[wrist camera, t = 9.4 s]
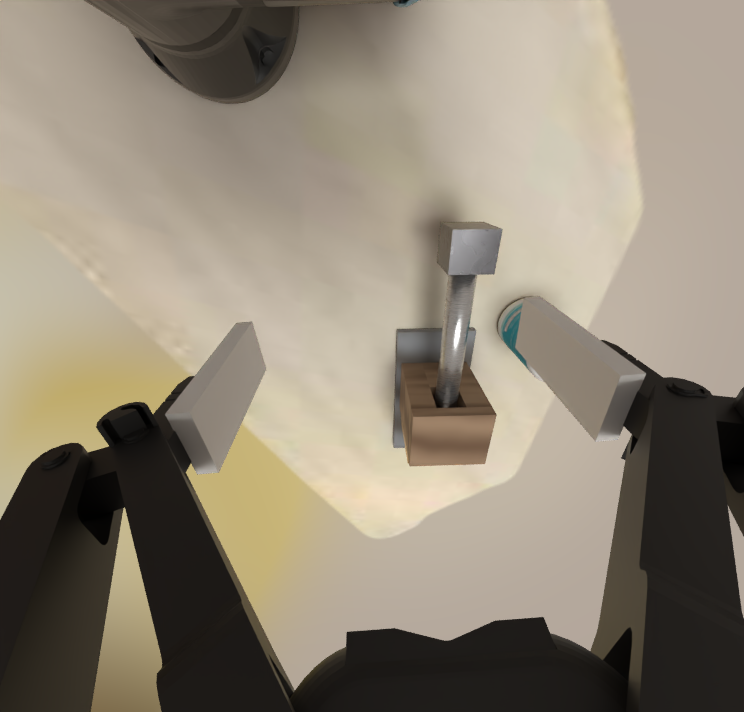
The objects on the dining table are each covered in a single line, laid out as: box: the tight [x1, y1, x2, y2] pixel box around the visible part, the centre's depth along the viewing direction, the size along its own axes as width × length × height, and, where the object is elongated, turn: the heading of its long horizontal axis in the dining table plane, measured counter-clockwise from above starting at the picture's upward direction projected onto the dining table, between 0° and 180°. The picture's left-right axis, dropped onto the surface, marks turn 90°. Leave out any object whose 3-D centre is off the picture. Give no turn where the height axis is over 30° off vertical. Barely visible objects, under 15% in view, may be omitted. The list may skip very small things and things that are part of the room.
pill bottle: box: [498, 299, 544, 382], centre depth 40 cm, size 8×7×14 cm
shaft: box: [435, 222, 502, 408], centre depth 36 cm, size 23×4×5 cm, turn 0°
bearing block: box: [393, 328, 496, 466], centre depth 45 cm, size 22×11×13 cm, turn 0°
